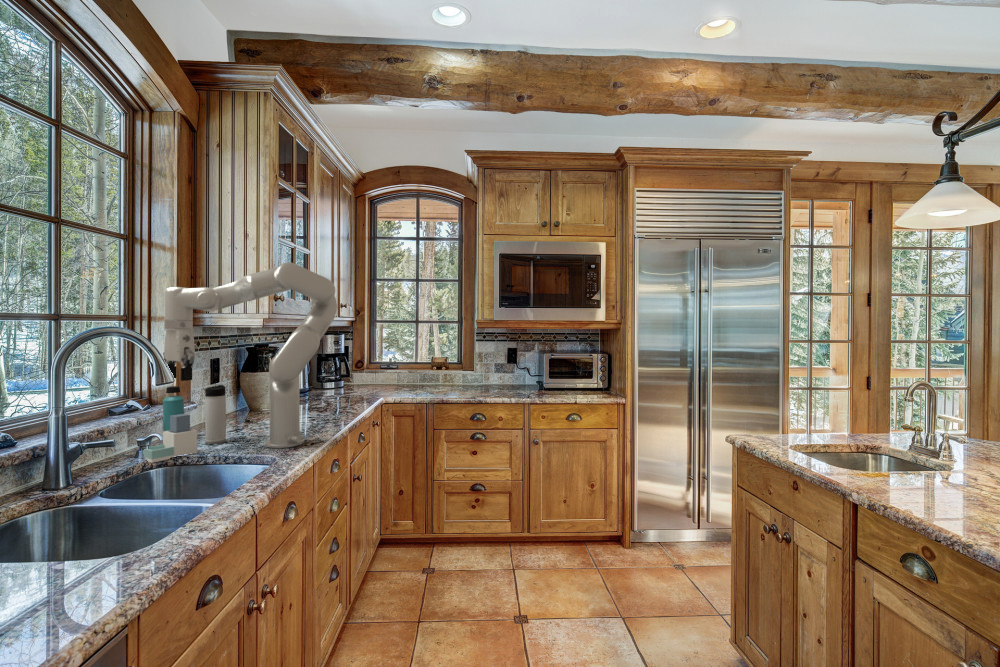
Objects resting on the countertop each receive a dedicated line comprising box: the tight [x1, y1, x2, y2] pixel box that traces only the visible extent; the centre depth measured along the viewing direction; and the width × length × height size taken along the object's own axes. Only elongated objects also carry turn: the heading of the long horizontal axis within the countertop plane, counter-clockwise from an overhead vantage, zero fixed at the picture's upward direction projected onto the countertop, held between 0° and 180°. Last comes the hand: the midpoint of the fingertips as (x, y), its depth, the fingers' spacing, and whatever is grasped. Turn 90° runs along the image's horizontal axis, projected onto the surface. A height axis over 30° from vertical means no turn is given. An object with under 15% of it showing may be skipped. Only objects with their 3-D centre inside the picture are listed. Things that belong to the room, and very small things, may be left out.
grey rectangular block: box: [170, 413, 191, 433], centre depth 154 cm, size 4×4×8 cm
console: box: [143, 428, 198, 464], centre depth 152 cm, size 7×13×8 cm, turn 149°
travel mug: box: [204, 384, 227, 445], centre depth 170 cm, size 6×7×20 cm
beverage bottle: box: [162, 385, 185, 433], centre depth 169 cm, size 6×7×20 cm
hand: (178, 379), depth 154 cm, fingers open, 9 cm apart
